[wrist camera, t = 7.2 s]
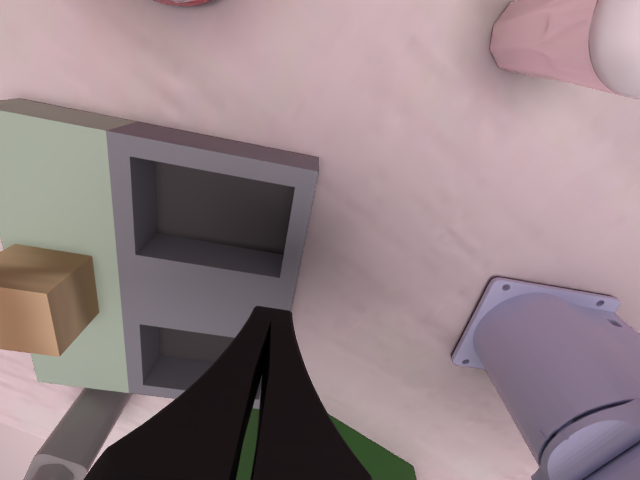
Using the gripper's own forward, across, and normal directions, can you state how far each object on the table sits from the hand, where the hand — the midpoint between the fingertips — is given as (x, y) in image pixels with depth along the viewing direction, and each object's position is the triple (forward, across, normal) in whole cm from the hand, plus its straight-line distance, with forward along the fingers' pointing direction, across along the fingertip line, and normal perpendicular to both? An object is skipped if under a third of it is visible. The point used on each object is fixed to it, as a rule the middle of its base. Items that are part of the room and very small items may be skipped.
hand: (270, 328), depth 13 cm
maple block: (+6, +12, +4) cm, 15 cm away
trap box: (+9, +7, +4) cm, 13 cm away
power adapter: (+10, +12, +17) cm, 23 cm away
